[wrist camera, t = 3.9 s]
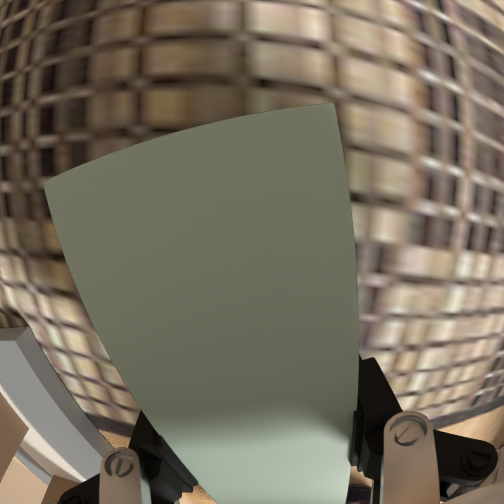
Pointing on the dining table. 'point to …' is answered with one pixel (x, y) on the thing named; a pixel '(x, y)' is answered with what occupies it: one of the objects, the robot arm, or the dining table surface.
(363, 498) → the dark blue cylinder
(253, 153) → the lintel
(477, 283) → the dining table surface
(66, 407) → the board
